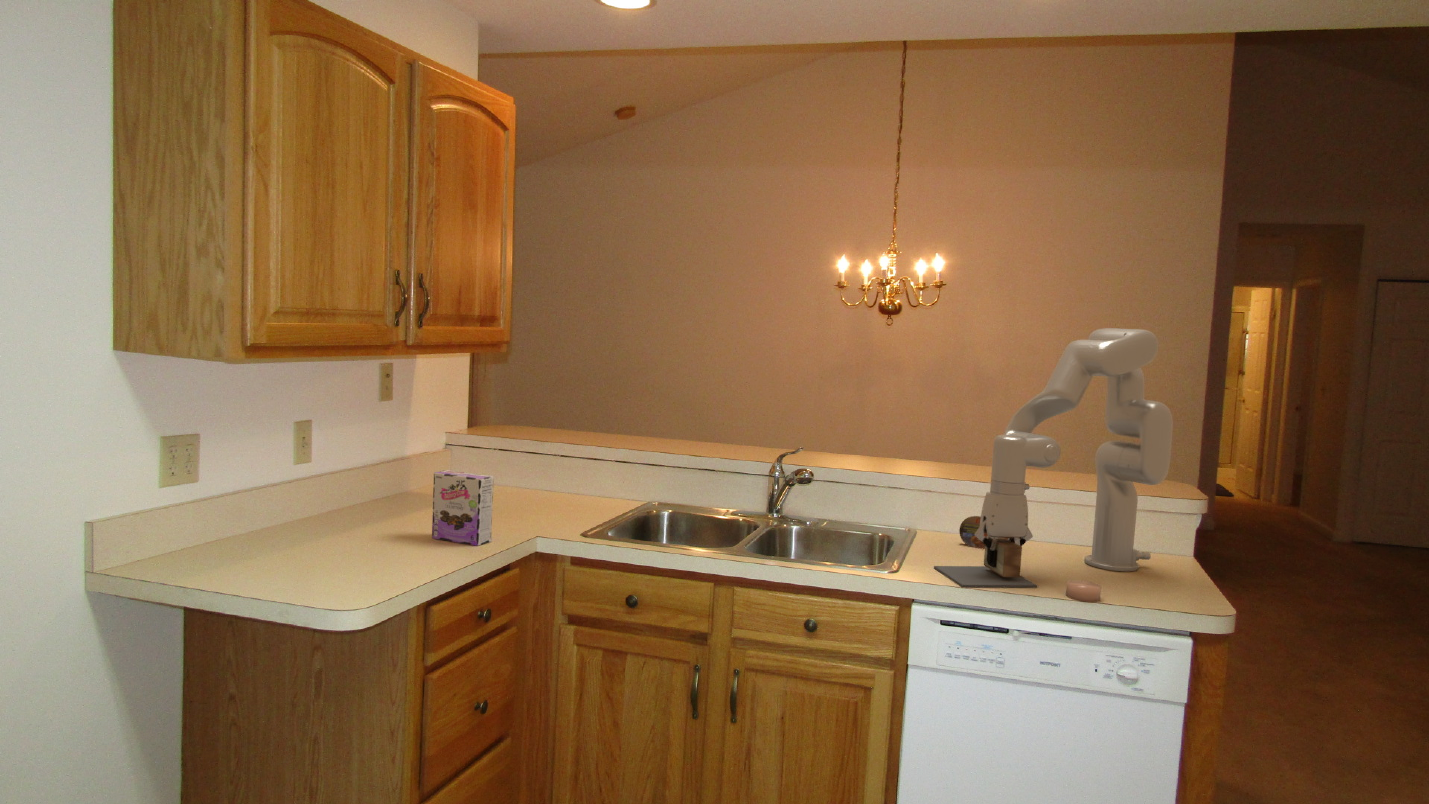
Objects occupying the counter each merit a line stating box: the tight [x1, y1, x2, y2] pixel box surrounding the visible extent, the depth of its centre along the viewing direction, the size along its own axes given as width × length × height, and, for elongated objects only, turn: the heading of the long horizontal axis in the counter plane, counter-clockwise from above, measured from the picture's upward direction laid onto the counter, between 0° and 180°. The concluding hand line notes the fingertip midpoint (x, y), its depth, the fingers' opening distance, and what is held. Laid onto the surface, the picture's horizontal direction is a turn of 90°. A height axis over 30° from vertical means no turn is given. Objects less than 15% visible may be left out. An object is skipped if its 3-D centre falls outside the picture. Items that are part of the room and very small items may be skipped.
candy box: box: [431, 469, 495, 547], centre depth 225 cm, size 14×6×16 cm, turn 68°
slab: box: [983, 536, 1023, 577], centre depth 216 cm, size 4×10×7 cm, turn 10°
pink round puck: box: [1065, 579, 1102, 603], centre depth 203 cm, size 7×7×3 cm
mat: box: [933, 565, 1038, 589], centre depth 215 cm, size 18×16×1 cm
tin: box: [958, 515, 1009, 550], centre depth 246 cm, size 15×3×8 cm, turn 62°
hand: (1001, 565), depth 216 cm, fingers closed on slab, 4 cm apart
